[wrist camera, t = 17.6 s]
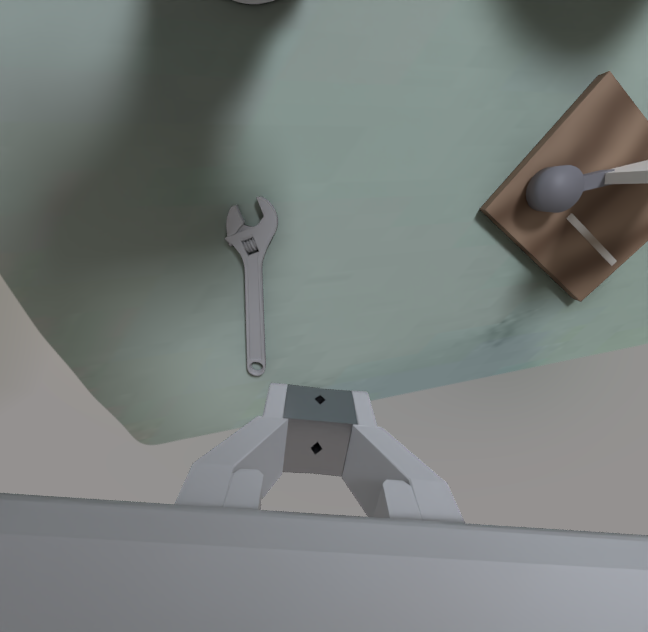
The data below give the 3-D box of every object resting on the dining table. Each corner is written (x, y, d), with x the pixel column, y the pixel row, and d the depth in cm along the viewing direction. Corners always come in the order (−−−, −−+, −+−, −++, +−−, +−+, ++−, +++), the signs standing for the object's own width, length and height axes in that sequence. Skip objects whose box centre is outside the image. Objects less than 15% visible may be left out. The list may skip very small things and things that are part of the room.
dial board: (479, 209, 41) (485, 209, 39) (598, 75, 36) (610, 70, 34) (572, 298, 46) (581, 301, 44) (688, 191, 41) (702, 191, 39)
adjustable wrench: (267, 371, 49) (265, 377, 48) (225, 366, 49) (221, 373, 47) (279, 201, 40) (278, 201, 38) (228, 194, 40) (224, 194, 38)
